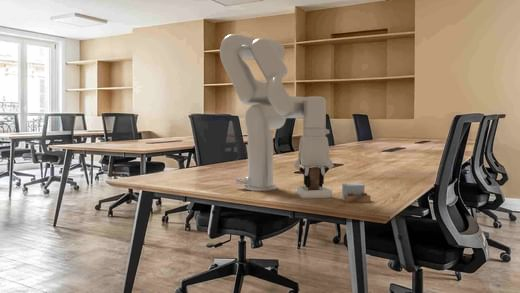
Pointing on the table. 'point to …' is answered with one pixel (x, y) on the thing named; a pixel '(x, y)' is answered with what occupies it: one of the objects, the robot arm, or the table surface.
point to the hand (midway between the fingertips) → (313, 186)
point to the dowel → (314, 178)
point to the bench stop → (357, 198)
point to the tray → (314, 192)
